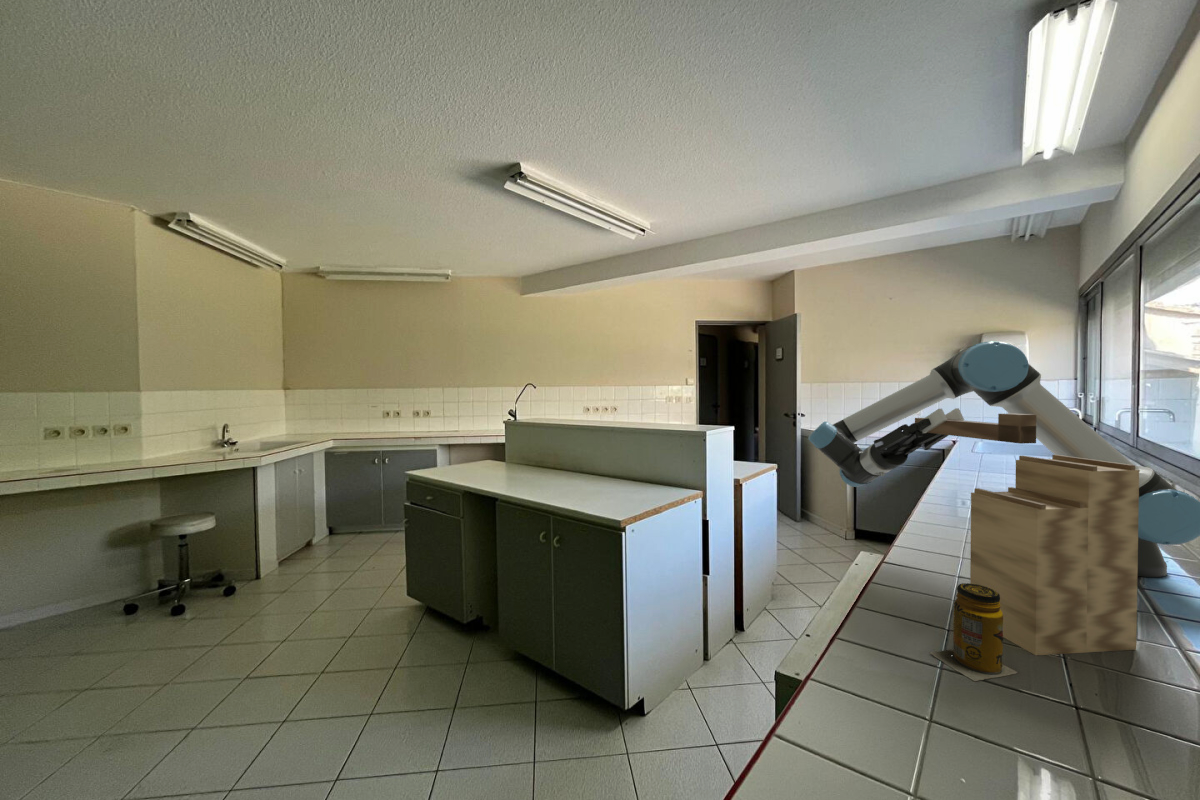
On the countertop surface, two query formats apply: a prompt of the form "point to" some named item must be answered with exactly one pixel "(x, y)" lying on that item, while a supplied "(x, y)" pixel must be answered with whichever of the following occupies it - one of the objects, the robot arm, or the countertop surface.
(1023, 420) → the frame bar
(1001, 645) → the condiment
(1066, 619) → the notch post
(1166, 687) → the countertop surface
